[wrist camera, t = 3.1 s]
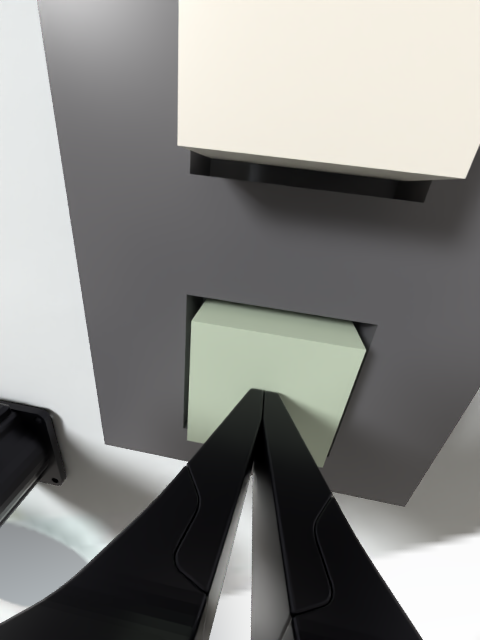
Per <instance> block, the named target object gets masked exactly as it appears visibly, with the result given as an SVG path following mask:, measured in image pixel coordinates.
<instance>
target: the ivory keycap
mask: <svg viewBox="0 0 480 640" xmlns="http://www.w3.org/2000/svg"><path fill="white" fill-rule="evenodd" d="M479 145H480V0H179V24H178V142H177V146H180V147H183V148H185V149H188V150H191V151H193V152H196V153H199V154H201V155H204V156H207V157H209V158H212V159H220V160H229V161H237V162H246V163H254V164H263V165H271V166H280V167H288V168H297V169H305V170H314V171H322V172H331V173H339V174H347V175H356V176H364V177H373V178H381V179H390V180H398V181H420V180H445V179H465V178H466V176H467V173H468V171H469V169H470V166H471V164H472V161H473V159H474V157H475V154H476V152H477V150H478V147H479Z"/></svg>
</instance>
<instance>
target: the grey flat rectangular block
mask: <svg viewBox="0 0 480 640" xmlns="http://www.w3.org/2000/svg"><path fill="white" fill-rule="evenodd" d="M37 4H38V11H39V17H40V24H41V30H42V37H43V43H44V50H45V56H46V63H47V69H48V76H49V82H50V89H51V95H52V102H53V108H54V115H55V121H56V128H57V135H58V141H59V148H60V154H61V161H62V167H63V174H64V180H65V187H66V193H67V200H68V206H69V213H70V219H71V226H72V232H73V239H74V245H75V252H76V258H77V265H78V271H79V278H80V285H81V291H82V298H83V304H84V311H85V317H86V324H87V330H88V337H89V343H90V350H91V356H92V363H93V369H94V376H95V382H96V389H97V395H98V402H99V408H100V415H101V422H102V428H103V435H104V441H105V444H106V445H111V446H116V447H121V448H126V449H130V450H135V451H140V452H145V453H150V454H154V455H159V456H164V457H169V458H174V459H178V460H183V461H188V462H189V461H190V459H191V458H192V457H193V456H194V455H195V454H196V452H197V451H198V450H199V449H200V448H201V446H202V445H203V443H198V442H193V441H188V440H187V429H188V402H189V374H190V347H191V321H192V319H193V318H194V316H195V315H196V314H197V312H198V311H199V309H200V308H201V306H202V305H203V303H204V302H205V301H206V299H207V298H212V299H218V300H225V301H231V302H237V303H243V304H250V305H256V306H262V307H269V308H275V309H281V310H287V311H294V312H300V313H306V314H312V315H319V316H325V317H331V318H338V319H344V320H350V321H352V322H353V324H354V326H355V328H356V330H357V332H358V335H359V337H360V339H361V341H362V343H363V345H364V347H365V349H366V352H365V355H364V357H363V360H362V363H361V365H360V368H359V371H358V374H357V376H356V379H355V382H354V384H353V387H352V390H351V392H350V395H349V398H348V401H347V403H346V406H345V409H344V411H343V414H342V417H341V420H340V422H339V425H338V428H337V430H336V433H335V436H334V438H333V441H332V444H331V447H330V449H329V452H328V455H327V457H326V460H325V463H324V465H323V468H322V467H318V468H319V470H320V472H321V474H322V475H323V477H324V479H325V481H326V483H327V485H328V487H329V488H330V490H331V491H332V492H337V493H341V494H346V495H351V496H356V497H361V498H365V499H370V500H375V501H380V502H385V503H389V504H394V505H399V506H404V507H405V505H406V503H407V502H408V500H409V499H410V497H411V496H412V494H413V492H414V491H415V489H416V488H417V486H418V484H419V483H420V481H421V480H422V478H423V477H424V475H425V473H426V472H427V470H428V469H429V467H430V465H431V464H432V462H433V461H434V459H435V457H436V456H437V454H438V453H439V451H440V450H441V448H442V446H443V445H444V443H445V442H446V440H447V438H448V437H449V435H450V434H451V432H452V431H453V429H454V427H455V426H456V424H457V423H458V421H459V419H460V418H461V416H462V415H463V413H464V411H465V410H466V408H467V407H468V405H469V404H470V402H471V400H472V399H473V397H474V396H475V394H476V392H477V391H478V389H479V388H480V145H479V147H478V150H477V152H476V154H475V157H474V159H473V161H472V164H471V166H470V169H469V171H468V173H467V176H466V178H465V179H445V180H420V181H398V180H390V179H381V178H373V177H364V176H356V175H347V174H339V173H331V172H322V171H314V170H305V169H297V168H288V167H280V166H271V165H263V164H254V163H246V162H237V161H229V160H220V159H212V158H209V157H207V156H204V155H201V154H199V153H196V152H193V151H191V150H188V149H185V148H183V147H180V146H177V142H178V24H179V0H37ZM253 464H254V462H253ZM251 475H253V467H252V472H251Z"/></svg>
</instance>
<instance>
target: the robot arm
mask: <svg viewBox="0 0 480 640" xmlns="http://www.w3.org/2000/svg"><path fill="white" fill-rule="evenodd" d="M253 462H254V464H253ZM252 467H253V505H252V595H251V599H252V600H251V640H423V639H422V638H421V636H420V635H419V633H418V632H417V630H416V629H415V627H414V625H413V624H412V622H411V621H410V619H409V618H408V616H407V615H406V613H405V612H404V610H403V609H402V607H401V606H400V604H399V603H398V601H397V600H396V598H395V596H394V595H393V593H392V592H391V590H390V589H389V587H388V586H387V584H386V583H385V581H384V580H383V578H382V577H381V575H380V574H379V572H378V570H377V569H376V567H375V566H374V564H373V563H372V561H371V560H370V558H369V556H368V555H367V553H366V552H365V550H364V548H363V547H362V545H361V544H360V542H359V540H358V539H357V537H356V535H355V534H354V532H353V530H352V528H351V527H350V525H349V523H348V521H347V520H346V518H345V516H344V514H343V513H342V511H341V509H340V507H339V505H338V503H337V501H336V499H335V498H334V497H332V492H331V490H330V488H329V487H328V485H327V483H326V481H325V479H324V477H323V475H322V474H321V472H320V470H319V468H318V466H317V464H316V462H315V460H314V459H313V457H312V455H311V453H310V451H309V449H308V447H307V446H306V444H305V442H304V440H303V438H302V436H301V434H300V433H299V431H298V429H297V427H296V425H295V423H294V421H293V419H292V418H291V416H290V414H289V412H288V410H287V408H286V406H285V405H284V403H283V401H282V399H281V397H280V395H279V394H278V393H276V392H271V391H265V392H264V391H263V390H260V389H254V388H251V389H249V390H248V392H247V393H246V394H245V395H244V396H243V398H242V399H241V400H240V401H239V402H238V404H237V405H236V406H235V407H234V408H233V410H232V411H231V412H230V413H229V414H228V415H227V417H226V418H225V419H224V420H223V421H222V423H221V424H220V425H219V426H218V427H217V429H216V430H215V431H214V432H213V433H212V434H211V436H210V437H209V438H208V439H207V440H206V442H205V443H204V444H203V445H202V446H201V448H200V449H199V450H198V451H197V452H196V454H195V455H194V456H193V457H192V458H191V459H190V461H189V462H188V463H187V466H185V467H184V468H183V469H182V470H181V471H180V472H179V474H178V475H177V476H176V477H175V478H174V479H173V480H172V482H171V483H170V484H169V485H168V486H167V487H166V488H165V489H164V491H163V492H162V493H161V494H160V495H159V496H158V497H157V498H156V499H155V500H154V501H153V502H152V503H151V504H150V505H149V506H148V507H147V508H146V509H145V510H144V511H143V512H142V513H141V514H140V515H139V516H138V517H137V518H136V519H135V520H134V521H132V522H131V523H130V524H129V525H128V526H127V527H126V528H125V529H124V530H123V531H122V532H121V533H120V534H119V535H118V536H117V537H116V538H114V539H113V540H112V541H111V542H110V543H109V544H108V545H107V546H106V547H105V548H104V549H103V550H102V551H101V552H100V553H99V554H98V555H96V556H95V557H94V558H93V559H92V560H91V561H90V562H89V563H88V564H87V565H86V566H85V567H84V568H83V569H82V570H80V571H79V572H78V573H77V574H76V575H75V576H74V577H73V578H71V579H70V580H69V581H68V582H66V583H65V584H64V585H63V586H61V587H60V588H59V589H57V590H56V591H55V592H53V593H52V594H50V595H49V596H47V597H46V598H44V599H43V600H41V601H40V602H38V603H36V604H34V605H32V606H31V607H29V608H27V609H25V610H23V611H22V612H20V613H18V614H16V615H14V616H13V617H11V618H9V619H7V620H6V621H4V622H2V623H0V640H209V636H210V633H211V629H212V624H213V621H214V617H215V613H216V609H217V605H218V601H219V597H220V593H221V590H222V586H223V582H224V578H225V574H226V570H227V566H228V562H229V558H230V554H231V550H232V547H233V543H234V539H235V535H236V531H237V527H238V523H239V519H240V515H241V511H242V507H243V504H244V500H245V496H246V492H247V488H248V484H249V480H250V476H251V472H252ZM65 479H66V474H65V470H64V466H63V462H62V458H61V455H60V451H59V447H58V443H57V439H56V435H55V432H54V428H53V424H52V420H51V417H50V414H49V413H48V412H47V411H45V410H43V409H40V408H35V407H30V406H25V405H20V404H15V403H10V402H5V401H0V527H1V526H2V525H3V524H4V523H5V521H6V520H7V519H8V518H9V517H10V515H11V514H12V513H13V512H14V511H15V509H16V508H17V507H18V506H19V505H20V503H21V502H22V501H23V500H24V499H25V497H26V496H27V495H28V494H29V492H30V491H31V490H32V489H33V488H34V486H35V485H36V484H37V483H38V482H39V481H40V482H44V483H48V484H53V485H61V484H62V483H63V482H64V481H65Z"/></svg>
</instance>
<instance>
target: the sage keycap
mask: <svg viewBox="0 0 480 640" xmlns="http://www.w3.org/2000/svg"><path fill="white" fill-rule="evenodd" d="M365 352H366V349H365V347H364V345H363V343H362V341H361V339H360V337H359V335H358V332H357V330H356V328H355V326H354V324H353V322H352V321H350V320H344V319H338V318H331V317H325V316H319V315H312V314H306V313H300V312H294V311H287V310H281V309H275V308H269V307H262V306H256V305H250V304H243V303H237V302H231V301H225V300H218V299H212V298H207V299H206V301H205V302H204V303H203V305H202V306H201V308H200V309H199V311H198V312H197V314H196V315H195V316H194V318H193V319H192V321H191V347H190V374H189V402H188V429H187V440H188V441H193V442H198V443H203V444H204V443H205V442H206V440H207V439H208V438H209V437H210V436H211V434H212V433H213V432H214V431H215V430H216V429H217V427H218V426H219V425H220V424H221V423H222V421H223V420H224V419H225V418H226V417H227V415H228V414H229V413H230V412H231V411H232V410H233V408H234V407H235V406H236V405H237V404H238V402H239V401H240V400H241V399H242V398H243V396H244V395H245V394H246V393H247V392H248V390H249V389H251V388H254V389H260V390H263V391H264V392H265V391H271V392H276V393H278V394H279V395H280V397H281V399H282V401H283V403H284V405H285V406H286V408H287V410H288V412H289V414H290V416H291V418H292V419H293V421H294V423H295V425H296V427H297V429H298V431H299V433H300V434H301V436H302V438H303V440H304V442H305V444H306V446H307V447H308V449H309V451H310V453H311V455H312V457H313V459H314V460H315V462H316V464H317V466H318V467H322V468H323V465H324V463H325V460H326V457H327V455H328V452H329V449H330V447H331V444H332V441H333V438H334V436H335V433H336V430H337V428H338V425H339V422H340V420H341V417H342V414H343V411H344V409H345V406H346V403H347V401H348V398H349V395H350V392H351V390H352V387H353V384H354V382H355V379H356V376H357V374H358V371H359V368H360V365H361V363H362V360H363V357H364V355H365Z"/></svg>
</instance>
